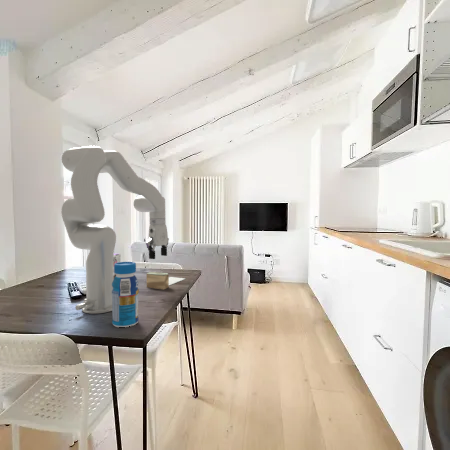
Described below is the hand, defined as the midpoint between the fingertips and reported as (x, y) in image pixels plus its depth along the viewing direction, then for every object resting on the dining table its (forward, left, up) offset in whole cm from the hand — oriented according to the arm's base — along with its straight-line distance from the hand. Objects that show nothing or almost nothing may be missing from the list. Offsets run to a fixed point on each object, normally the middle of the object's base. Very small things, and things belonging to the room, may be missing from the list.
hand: (158, 257), depth 143 cm
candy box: (-14, +19, -15) cm, 28 cm away
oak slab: (-1, 0, -15) cm, 15 cm away
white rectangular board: (+12, +2, -15) cm, 19 cm away
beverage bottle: (-44, -18, -15) cm, 50 cm away
